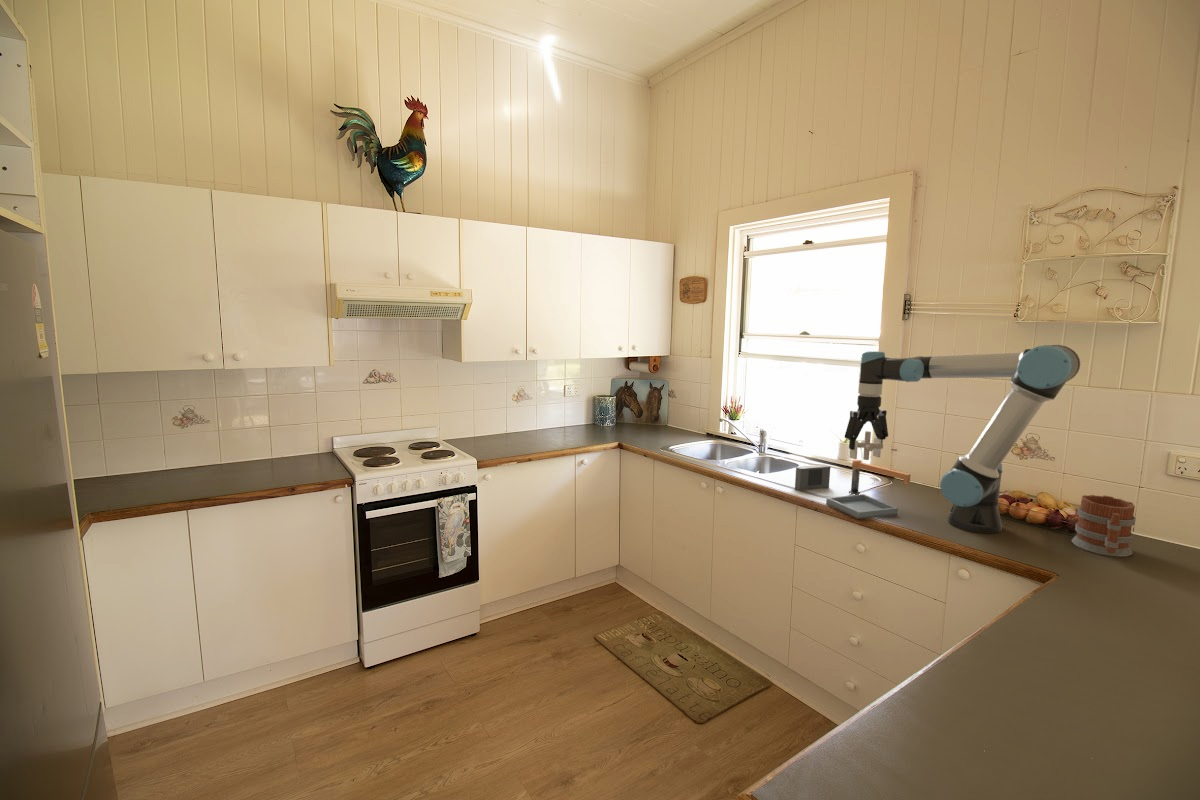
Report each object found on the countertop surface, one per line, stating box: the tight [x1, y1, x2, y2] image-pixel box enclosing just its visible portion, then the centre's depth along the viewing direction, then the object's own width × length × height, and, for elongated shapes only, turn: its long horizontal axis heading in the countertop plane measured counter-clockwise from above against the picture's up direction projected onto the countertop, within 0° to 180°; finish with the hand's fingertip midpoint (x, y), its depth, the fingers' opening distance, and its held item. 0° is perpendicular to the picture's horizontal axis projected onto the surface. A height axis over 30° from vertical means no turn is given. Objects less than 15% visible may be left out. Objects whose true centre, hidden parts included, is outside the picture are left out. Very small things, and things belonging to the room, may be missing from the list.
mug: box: [1071, 494, 1136, 558], centre depth 170 cm, size 14×19×15 cm
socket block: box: [794, 464, 831, 492], centre depth 231 cm, size 3×14×9 cm, turn 107°
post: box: [848, 468, 861, 495], centre depth 224 cm, size 4×4×10 cm
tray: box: [825, 493, 899, 520], centre depth 206 cm, size 17×17×2 cm
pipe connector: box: [858, 430, 884, 461], centre depth 203 cm, size 10×10×10 cm
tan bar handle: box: [851, 459, 912, 486], centre depth 215 cm, size 3×23×4 cm, turn 31°
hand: (864, 457), depth 204 cm, fingers closed on pipe connector, 9 cm apart
